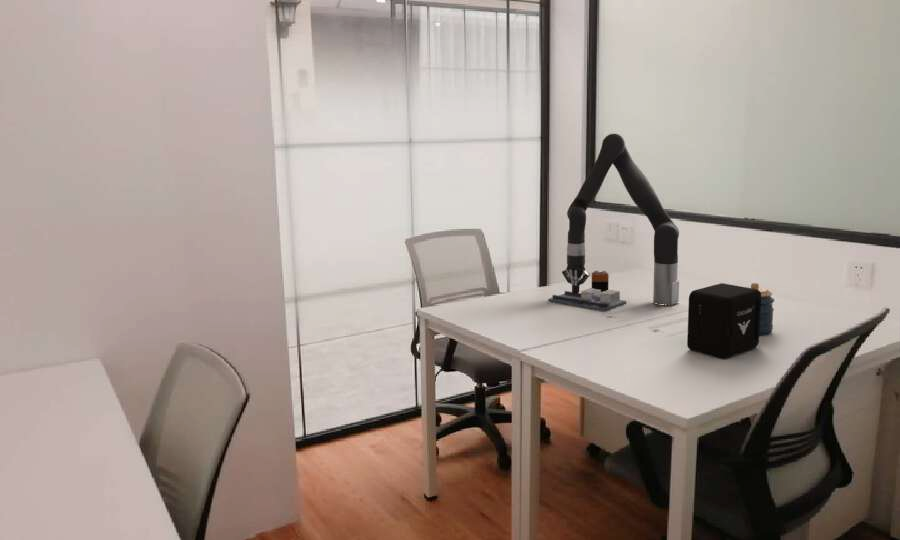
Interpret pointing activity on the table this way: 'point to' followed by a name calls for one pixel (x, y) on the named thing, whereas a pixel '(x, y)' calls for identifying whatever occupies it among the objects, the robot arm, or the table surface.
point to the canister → (765, 310)
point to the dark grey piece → (605, 303)
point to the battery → (600, 280)
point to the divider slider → (590, 294)
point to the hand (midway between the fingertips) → (575, 293)
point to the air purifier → (724, 320)
